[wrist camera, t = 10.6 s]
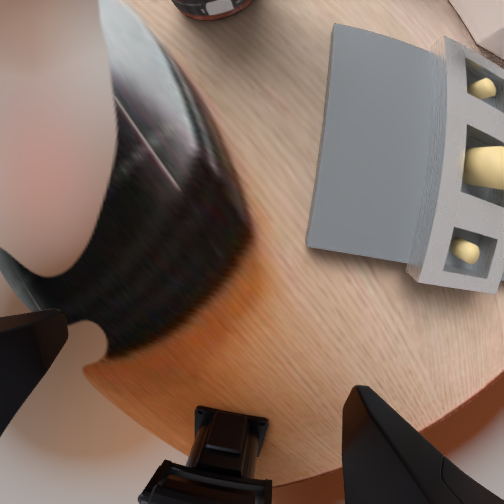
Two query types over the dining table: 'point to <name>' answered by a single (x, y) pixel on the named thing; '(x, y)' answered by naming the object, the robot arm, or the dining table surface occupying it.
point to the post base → (386, 150)
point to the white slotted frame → (459, 174)
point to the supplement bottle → (210, 8)
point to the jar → (484, 22)
